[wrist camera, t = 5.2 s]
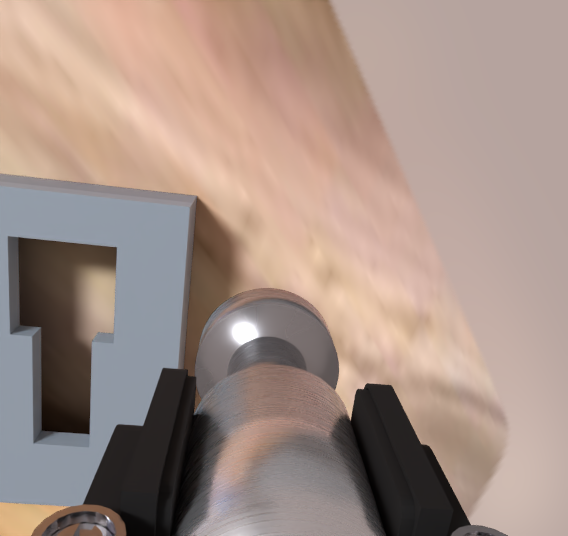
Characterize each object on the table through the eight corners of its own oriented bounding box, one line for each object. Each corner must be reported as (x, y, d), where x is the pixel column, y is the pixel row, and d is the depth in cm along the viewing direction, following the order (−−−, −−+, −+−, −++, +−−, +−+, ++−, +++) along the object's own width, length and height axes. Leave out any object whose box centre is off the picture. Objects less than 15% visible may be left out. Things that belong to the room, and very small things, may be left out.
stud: (204, 282, 15) (129, 565, 6) (340, 294, 16) (475, 581, 6) (194, 403, 16) (118, 805, 7) (321, 412, 17) (412, 807, 7)
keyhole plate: (-32, 170, 28) (-70, 178, 25) (196, 195, 29) (189, 207, 26) (-20, 460, 33) (-50, 499, 30) (175, 473, 34) (167, 512, 31)
